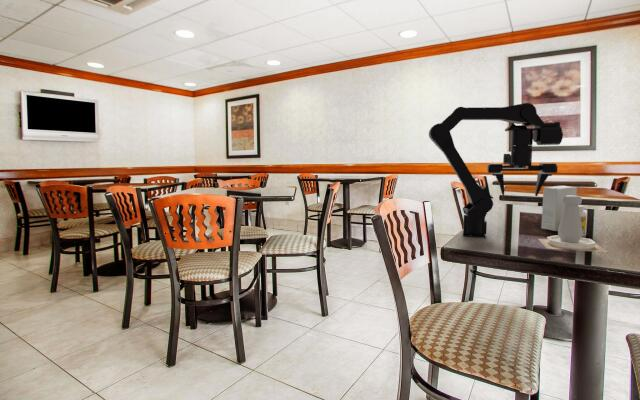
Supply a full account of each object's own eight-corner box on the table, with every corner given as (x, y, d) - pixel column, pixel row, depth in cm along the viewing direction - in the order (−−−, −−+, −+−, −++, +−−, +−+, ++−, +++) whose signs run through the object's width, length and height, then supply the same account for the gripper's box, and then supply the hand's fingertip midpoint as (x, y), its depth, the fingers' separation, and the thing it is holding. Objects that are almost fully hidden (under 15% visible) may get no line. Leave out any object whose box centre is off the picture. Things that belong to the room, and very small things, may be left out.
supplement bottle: (581, 234, 119) (583, 204, 117) (587, 237, 114) (590, 206, 112) (562, 233, 120) (564, 204, 119) (567, 236, 115) (569, 206, 114)
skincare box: (560, 227, 129) (562, 185, 127) (575, 230, 123) (578, 186, 121) (540, 229, 127) (542, 186, 125) (554, 232, 122) (557, 187, 120)
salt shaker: (587, 243, 101) (590, 196, 99) (567, 244, 101) (571, 197, 99) (571, 238, 107) (574, 194, 105) (552, 239, 106) (555, 194, 105)
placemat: (546, 249, 101) (546, 248, 101) (537, 239, 112) (537, 238, 112) (608, 253, 96) (608, 252, 96) (592, 243, 107) (592, 241, 107)
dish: (552, 248, 101) (552, 242, 100) (543, 239, 111) (544, 234, 111) (600, 251, 97) (601, 245, 97) (587, 241, 107) (587, 236, 107)
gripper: (550, 145, 118) (547, 193, 120) (487, 146, 124) (485, 192, 126) (559, 144, 108) (556, 197, 109) (489, 146, 114) (487, 196, 116)
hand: (519, 195), depth 116 cm, fingers open, 9 cm apart
